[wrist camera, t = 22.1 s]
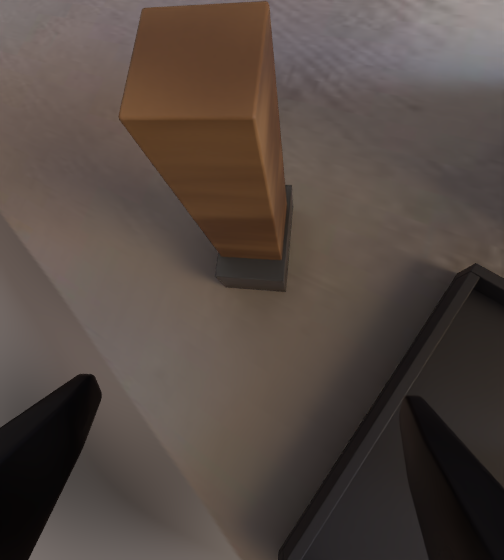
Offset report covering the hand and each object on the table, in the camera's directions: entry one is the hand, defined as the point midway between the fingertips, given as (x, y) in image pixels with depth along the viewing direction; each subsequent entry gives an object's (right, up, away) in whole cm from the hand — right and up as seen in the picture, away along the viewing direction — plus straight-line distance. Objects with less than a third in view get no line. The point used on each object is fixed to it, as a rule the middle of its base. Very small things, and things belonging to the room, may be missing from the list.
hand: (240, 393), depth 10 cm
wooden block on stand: (+1, +6, +13) cm, 15 cm away
